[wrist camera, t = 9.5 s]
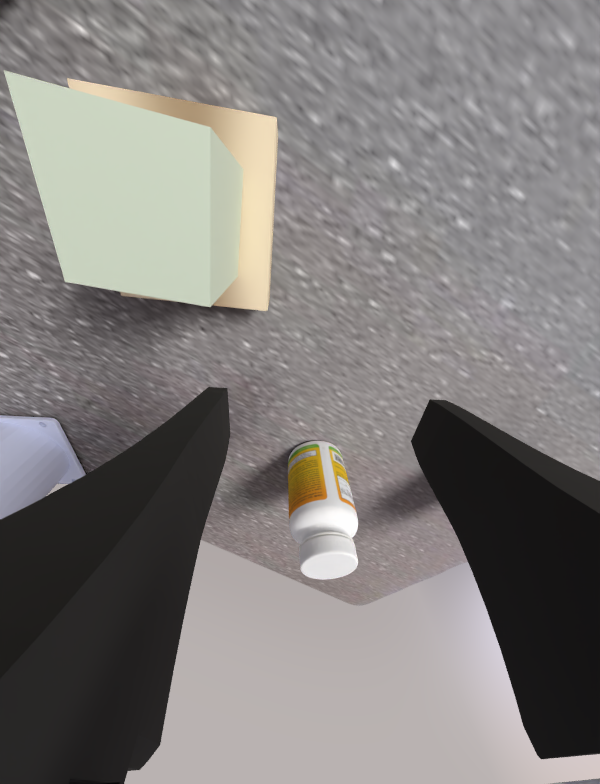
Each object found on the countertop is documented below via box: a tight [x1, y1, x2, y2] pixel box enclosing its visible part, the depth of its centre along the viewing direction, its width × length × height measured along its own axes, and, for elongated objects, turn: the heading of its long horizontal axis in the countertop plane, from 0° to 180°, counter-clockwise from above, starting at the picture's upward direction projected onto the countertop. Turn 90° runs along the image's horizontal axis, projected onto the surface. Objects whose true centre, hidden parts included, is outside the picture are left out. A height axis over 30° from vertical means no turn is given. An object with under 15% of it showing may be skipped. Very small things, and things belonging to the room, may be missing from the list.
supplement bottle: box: [288, 441, 358, 579], centre depth 21 cm, size 5×5×10 cm
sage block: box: [4, 71, 244, 307], centre depth 10 cm, size 4×4×6 cm
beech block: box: [67, 78, 278, 311], centre depth 14 cm, size 8×8×3 cm
